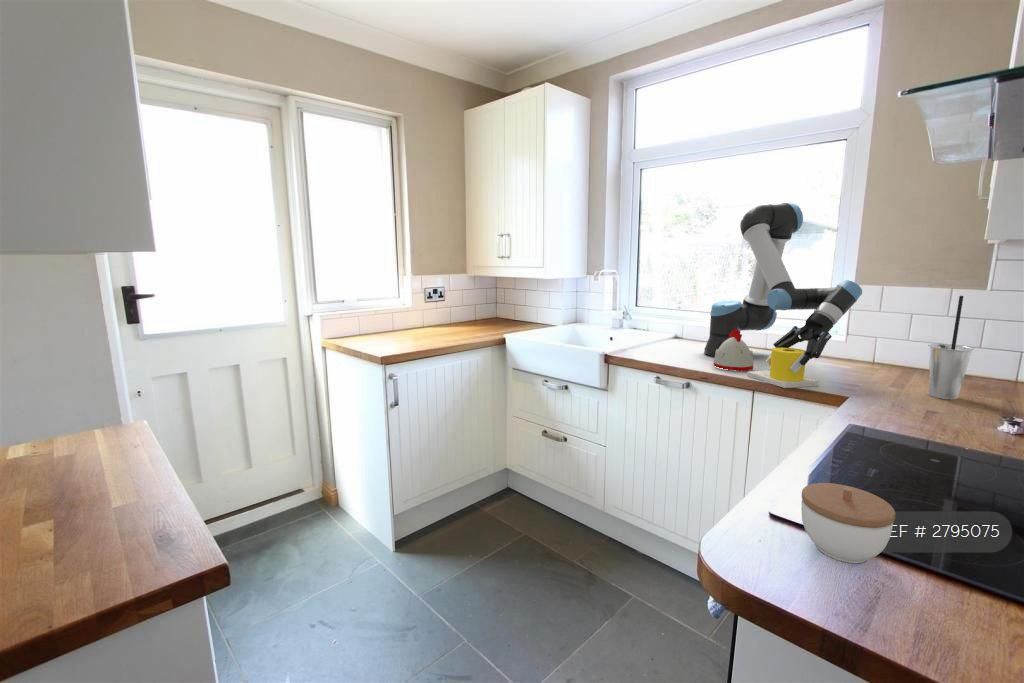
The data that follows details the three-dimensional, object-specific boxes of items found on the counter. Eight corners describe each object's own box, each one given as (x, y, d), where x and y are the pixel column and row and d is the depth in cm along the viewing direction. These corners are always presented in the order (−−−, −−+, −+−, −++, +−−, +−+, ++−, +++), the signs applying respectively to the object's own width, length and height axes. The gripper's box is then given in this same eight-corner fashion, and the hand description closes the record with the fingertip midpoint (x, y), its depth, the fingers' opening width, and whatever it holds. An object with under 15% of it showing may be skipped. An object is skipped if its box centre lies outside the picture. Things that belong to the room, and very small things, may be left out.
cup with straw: (947, 391, 147) (961, 295, 141) (978, 402, 135) (996, 298, 130) (909, 390, 148) (923, 295, 143) (938, 401, 137) (953, 298, 131)
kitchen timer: (723, 371, 175) (726, 332, 173) (707, 363, 189) (709, 326, 186) (760, 371, 176) (763, 331, 173) (741, 363, 189) (744, 326, 187)
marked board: (747, 375, 168) (747, 371, 168) (778, 373, 171) (778, 369, 171) (784, 388, 152) (784, 383, 152) (817, 385, 155) (818, 380, 154)
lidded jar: (788, 524, 74) (794, 468, 72) (868, 535, 71) (876, 477, 69) (809, 566, 64) (816, 502, 62) (904, 581, 61) (914, 514, 59)
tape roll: (808, 381, 153) (811, 353, 152) (774, 380, 155) (777, 352, 154) (797, 374, 163) (800, 348, 161) (766, 373, 165) (768, 347, 163)
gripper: (859, 331, 149) (813, 382, 148) (801, 322, 170) (761, 367, 170) (848, 315, 147) (801, 367, 146) (790, 308, 168) (749, 353, 168)
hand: (779, 367), depth 158 cm, fingers closed on tape roll, 10 cm apart
